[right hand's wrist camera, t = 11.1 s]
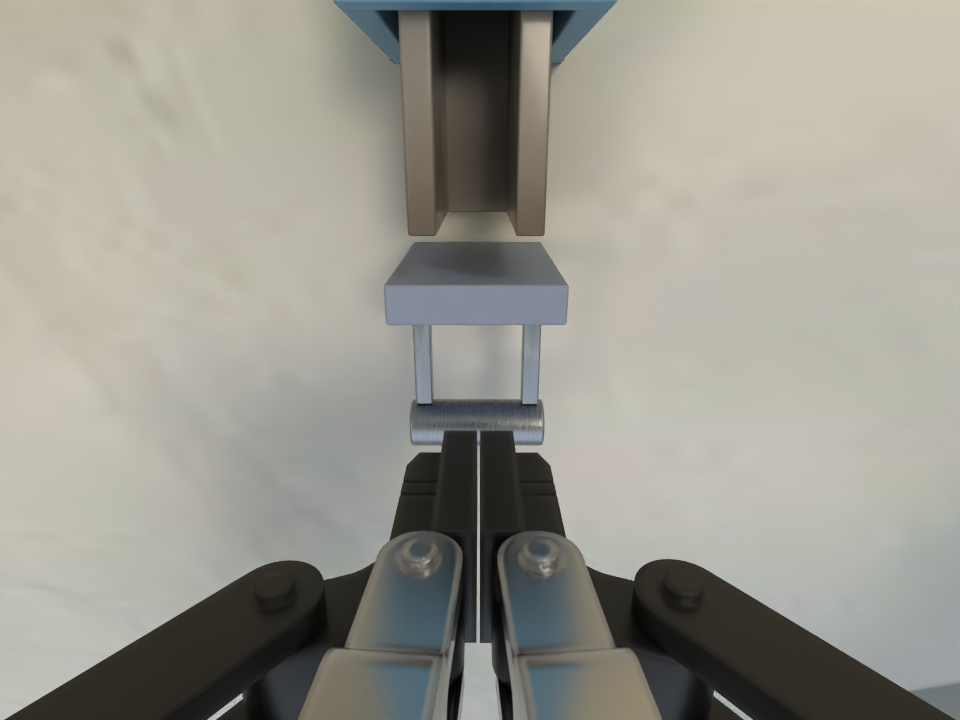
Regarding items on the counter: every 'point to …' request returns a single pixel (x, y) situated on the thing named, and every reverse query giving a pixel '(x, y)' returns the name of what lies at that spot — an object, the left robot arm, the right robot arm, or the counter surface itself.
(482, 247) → the drawer
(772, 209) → the counter surface
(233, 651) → the right robot arm
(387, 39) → the cabinet
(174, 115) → the counter surface
